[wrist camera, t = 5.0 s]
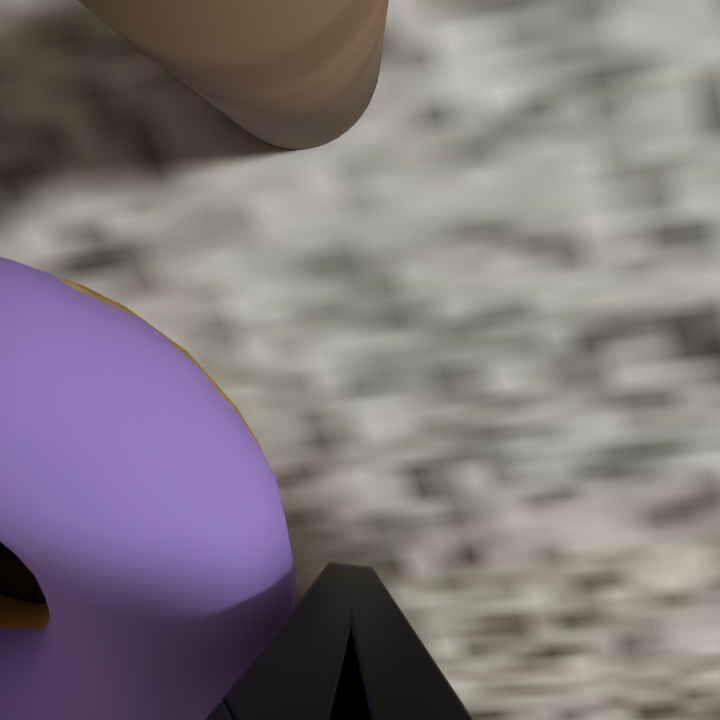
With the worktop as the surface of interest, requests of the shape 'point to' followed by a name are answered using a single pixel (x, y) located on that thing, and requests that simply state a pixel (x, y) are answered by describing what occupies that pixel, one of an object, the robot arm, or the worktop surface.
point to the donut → (126, 515)
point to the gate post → (265, 58)
